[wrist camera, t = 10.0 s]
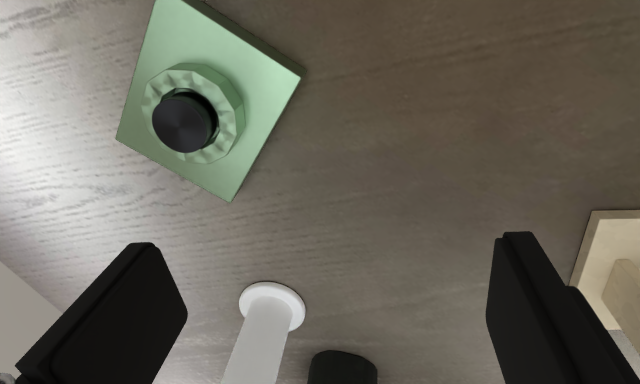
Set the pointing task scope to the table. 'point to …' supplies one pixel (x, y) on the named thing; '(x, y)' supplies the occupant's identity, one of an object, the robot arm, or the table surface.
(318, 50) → the table surface
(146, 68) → the button box
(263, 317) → the candle
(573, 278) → the bracket
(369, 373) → the sushi
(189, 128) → the button
